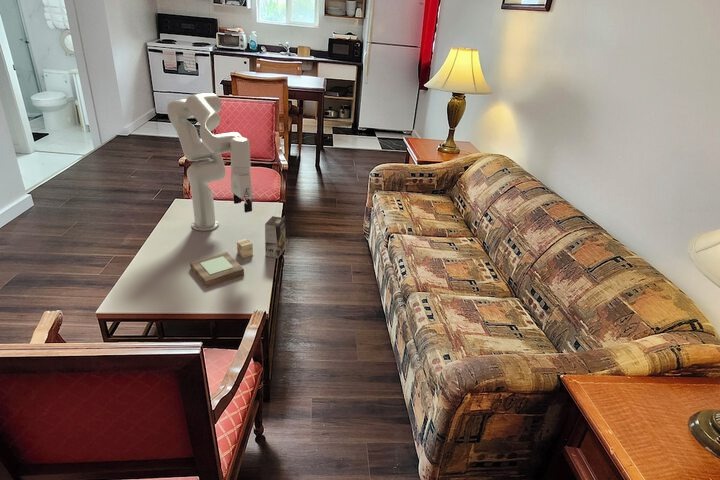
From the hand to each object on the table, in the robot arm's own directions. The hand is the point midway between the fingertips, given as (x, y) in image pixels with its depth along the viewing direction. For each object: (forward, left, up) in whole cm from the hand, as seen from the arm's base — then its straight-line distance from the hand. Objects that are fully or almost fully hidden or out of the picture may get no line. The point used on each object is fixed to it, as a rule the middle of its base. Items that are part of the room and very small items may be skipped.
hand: (242, 207), depth 180 cm
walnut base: (+7, -16, -23) cm, 29 cm away
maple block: (0, 0, -23) cm, 23 cm away
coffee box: (+6, +12, -23) cm, 27 cm away
